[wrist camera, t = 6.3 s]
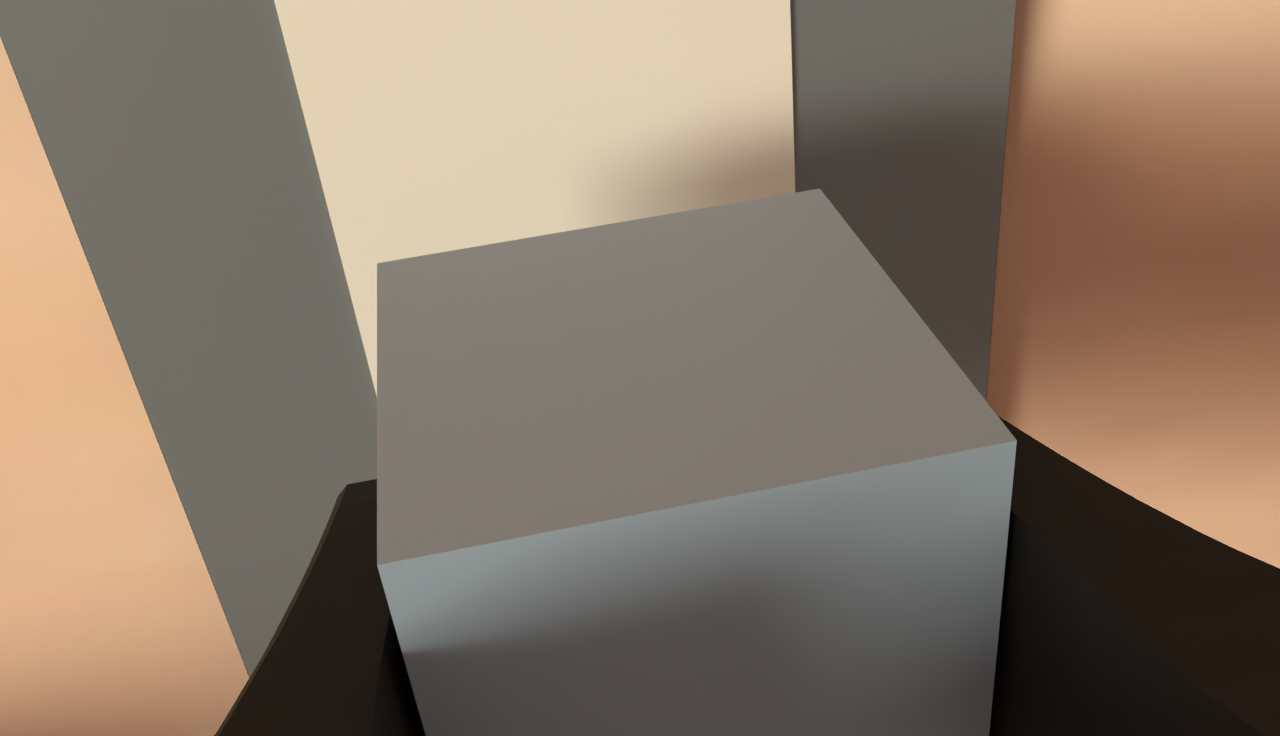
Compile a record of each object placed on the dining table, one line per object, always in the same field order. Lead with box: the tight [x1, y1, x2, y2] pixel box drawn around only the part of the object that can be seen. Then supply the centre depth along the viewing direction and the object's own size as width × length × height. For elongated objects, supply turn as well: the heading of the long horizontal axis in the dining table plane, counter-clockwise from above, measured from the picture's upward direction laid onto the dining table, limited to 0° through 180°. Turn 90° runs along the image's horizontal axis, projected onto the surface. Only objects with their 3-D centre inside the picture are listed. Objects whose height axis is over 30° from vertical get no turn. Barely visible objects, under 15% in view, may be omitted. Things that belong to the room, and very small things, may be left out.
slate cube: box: [377, 189, 1017, 736], centre depth 11 cm, size 4×4×4 cm
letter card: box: [0, 0, 1016, 678], centre depth 16 cm, size 12×14×1 cm
